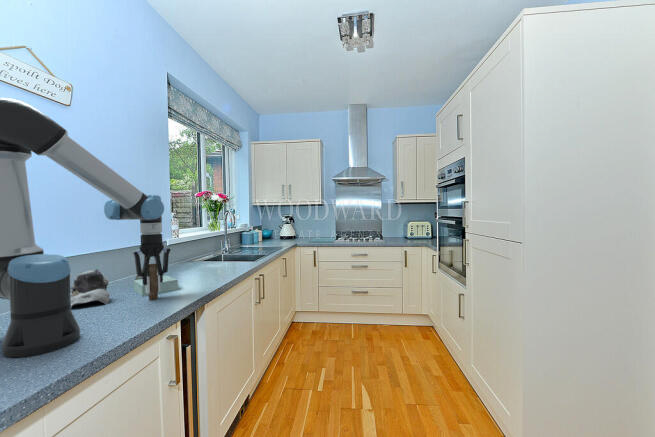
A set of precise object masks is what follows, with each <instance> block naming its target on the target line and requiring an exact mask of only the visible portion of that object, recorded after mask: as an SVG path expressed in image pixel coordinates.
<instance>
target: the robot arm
mask: <svg viewBox="0 0 655 437" xmlns="http://www.w3.org/2000/svg"><path fill="white" fill-rule="evenodd" d="M32 152H33V153H34V154H35V155H37V156H44V157H45V156H46V157H47V158H49V159H50V160H52V161H53V162H55V163H56V164H58V165H59V166H61V167H62V168H64V169H65V170H66V171H68V172H70V173H71V174H72V175H75V176H76V177H78V179H80V180H82V181H83V182H85V183H86V184H88V185H89V186H91V187H92V188H94V189H96V190H97V191H99V193H102V194H103V195H104V196H106V197H107V198H109V199H108V200H106V202H105V203H104V206H103V212H104V215H105V217H106V218H107V219H109V220H110V221H113V220H114V221H121V220H122V221H123V220H130V221H131V220H139V226H140V234H141V235H140V246H139V248H138V249H137V250H133V251H132V253H131V254H132V256H133V257H134V263H135V270H136V276H137V275H138V276H142V280H143V285H146V293H150V283H149V276H147V273H148V267H149V264H150V260H151V258H152V257H153V258H154V261H155V264H157V283H158V292H159V291H160V283H161V282H163V276H164V274H165V273H166V274H167V273H168V272H169V271H168V270H169V256H170V252H171V248H169V247H165V246H164V243H163V234H162V232H163V225H162V224H163V222H162V221H163V218H162V216H163V214H164V211H165V205H164V203H163V201H162V197H161V195H159V194H145V193H144V192H142V191H141V190H140V189H138V188H137V187H136V186H134V185H133V184H132V183H131V182H129V181H128V180H127V179H125V177H122V176H121V175H120V174H119V173H118V172H116V171H115V170H113V169H112V168H110V167H109V166H108V165H107V164H106V163H104V162H103V161H102V160H100V159H98V158H97V157H96V156H94V155H93V153H91V152H90V151H88V150H86V149H85V148H84V147H83V146H81V145H80V144H79V143H77V142H76V141H75V140H73V139H72V138H71V137H70V136H69V134H68V130H67V129H65V128H64V127H62V126H61V125H60V124H59V123H58V122H56V121H55V120H53V119H52V118H51V117H49V116H48V115H46V114H45V113H44V112H42V111H41V110H39V109H38V108H36V107H33V106H32V105H30V104H29V103H26V102H23V101H21V100H17V99H13V98H10V97H9V98H7V97H1V98H0V299H2V300H8V301H9V307H10V310H9V312H10V313H9V314H10V323H9V325H8V327H7V330H6V333H5V336H4V338H3V341H2V343H1V355H2V356H3V357H6V358H24V357H30V356H36V355H41V354H45V353H49V352H52V351H55V350H59V349H61V348H63V347H66V346H69V345H70V344H74V343H75V342H76V341H77V340H79V338H80V337H81V328H80V326H79V324H78V322H77V320H76V318H75V316H74V314H73V311H72V308H71V298H72V297H71V292H70V288H71V267H70V261H69V260H68V258H67V257H66V256H64V255H61V254H47V253H44V252H45V251H44V248H42V247H41V246H39V245H37V243H36V239H35V231H34V222H33V214H32V206H31V199H30V191H29V182H28V174H27V166H26V162H27V161H28V160H29V159H30V158H31V157H32ZM162 252H163V258H162V260H161V256H160V254H161V253H162ZM141 253H142V255H143V256H144V257H143V258H144V259H143V266H142V264H141V257H140V255H141ZM162 261H163V262H162ZM142 268H143V272H142V271H141V270H142Z"/></svg>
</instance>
